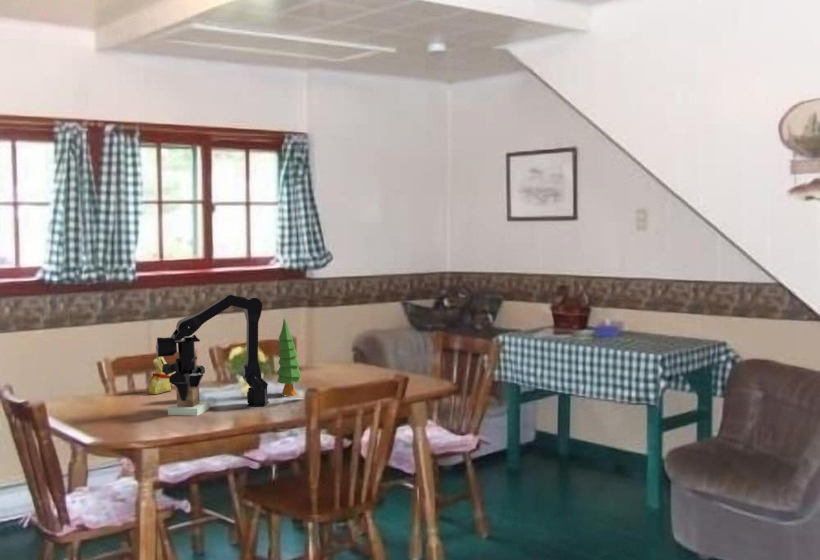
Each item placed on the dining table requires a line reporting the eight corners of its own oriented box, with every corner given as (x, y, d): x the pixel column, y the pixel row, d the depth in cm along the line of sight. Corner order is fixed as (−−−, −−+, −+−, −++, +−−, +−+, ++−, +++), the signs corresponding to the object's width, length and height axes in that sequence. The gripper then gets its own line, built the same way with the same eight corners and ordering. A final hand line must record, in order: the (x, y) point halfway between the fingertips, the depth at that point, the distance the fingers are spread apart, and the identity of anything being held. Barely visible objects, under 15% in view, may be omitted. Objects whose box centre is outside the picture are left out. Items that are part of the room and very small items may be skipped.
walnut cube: (199, 403, 349) (198, 386, 348) (193, 406, 343) (192, 390, 343) (183, 402, 350) (183, 386, 349) (177, 406, 344) (176, 389, 344)
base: (209, 409, 351) (209, 401, 351) (197, 417, 341) (197, 408, 340) (180, 409, 353) (180, 401, 353) (168, 416, 343) (167, 407, 342)
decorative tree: (274, 393, 374) (271, 316, 372) (297, 390, 379) (294, 314, 376) (284, 398, 366) (281, 319, 363) (307, 395, 371) (304, 317, 368)
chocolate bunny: (177, 390, 384) (175, 353, 382) (154, 395, 375) (152, 357, 374) (166, 388, 388) (164, 351, 386) (143, 393, 379) (141, 355, 378)
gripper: (175, 350, 355) (177, 392, 357) (154, 359, 337) (156, 403, 339) (204, 350, 354) (206, 392, 355) (184, 359, 335) (186, 403, 337)
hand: (188, 397), depth 346 cm, fingers open, 9 cm apart
